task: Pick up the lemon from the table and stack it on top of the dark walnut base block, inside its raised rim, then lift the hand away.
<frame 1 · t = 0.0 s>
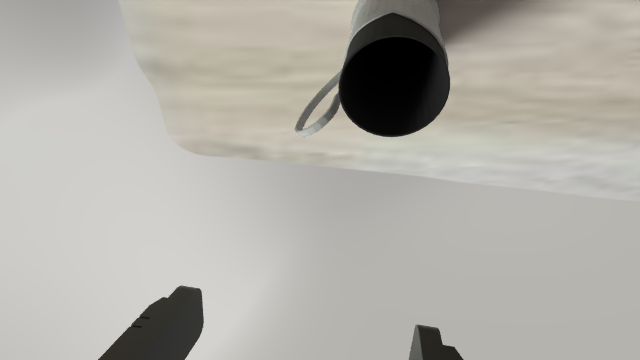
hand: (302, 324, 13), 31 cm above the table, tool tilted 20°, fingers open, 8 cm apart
glass holder: (371, 40, 36), on the table
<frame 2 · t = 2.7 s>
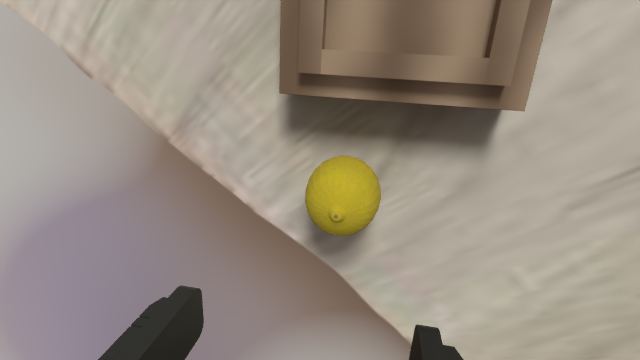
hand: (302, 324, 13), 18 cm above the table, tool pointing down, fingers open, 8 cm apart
lemon: (348, 176, 29), on the table
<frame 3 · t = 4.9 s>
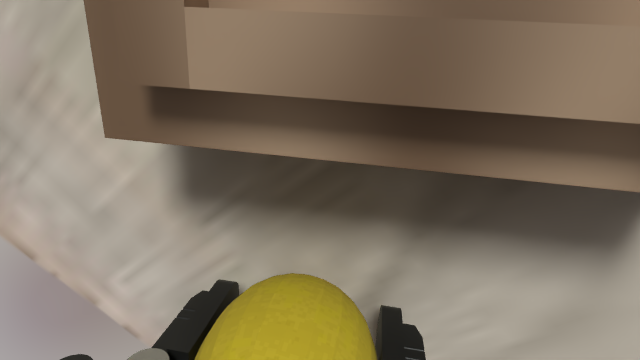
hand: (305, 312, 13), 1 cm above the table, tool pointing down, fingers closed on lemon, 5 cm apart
lemon: (312, 291, 14), on the table, touching gripper
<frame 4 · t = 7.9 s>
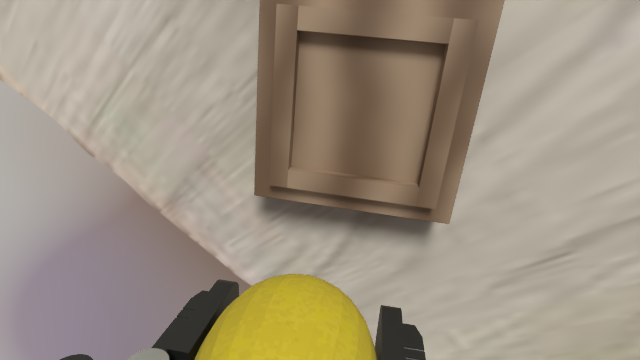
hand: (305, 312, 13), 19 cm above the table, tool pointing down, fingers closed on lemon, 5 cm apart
lemon: (312, 291, 14), point 18 cm above the table, touching gripper
walnut base: (363, 104, 29), on the table
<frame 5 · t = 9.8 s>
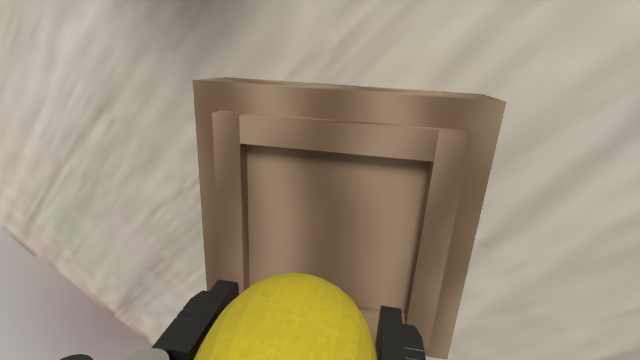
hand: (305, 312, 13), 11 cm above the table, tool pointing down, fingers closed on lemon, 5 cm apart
lemon: (312, 290, 14), point 10 cm above the table, touching gripper
walnut base: (337, 204, 24), on the table
when the fingers open (7 cm above the table, at t = 11.2 s): lemon drops 2 cm, resting on walnut base.
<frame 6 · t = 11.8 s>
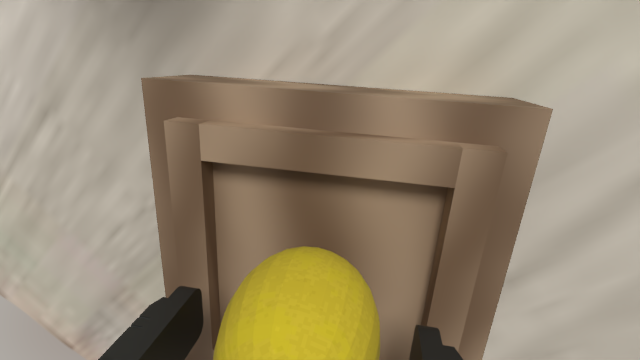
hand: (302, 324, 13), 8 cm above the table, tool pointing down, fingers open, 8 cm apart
lemon: (319, 267, 16), point 4 cm above the table, touching walnut base
walnut base: (330, 229, 20), on the table
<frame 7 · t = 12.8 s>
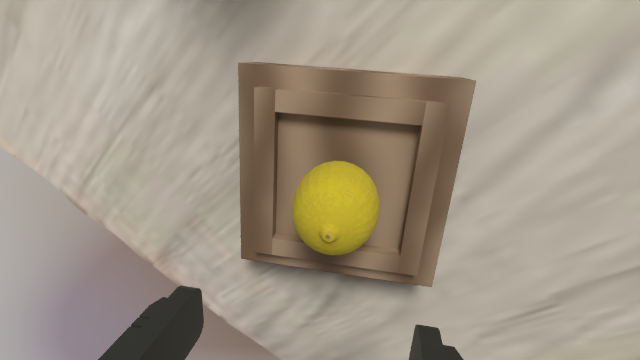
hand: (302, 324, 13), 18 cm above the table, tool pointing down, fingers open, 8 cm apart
lemon: (342, 182, 26), point 4 cm above the table, touching walnut base
walnut base: (346, 166, 29), on the table
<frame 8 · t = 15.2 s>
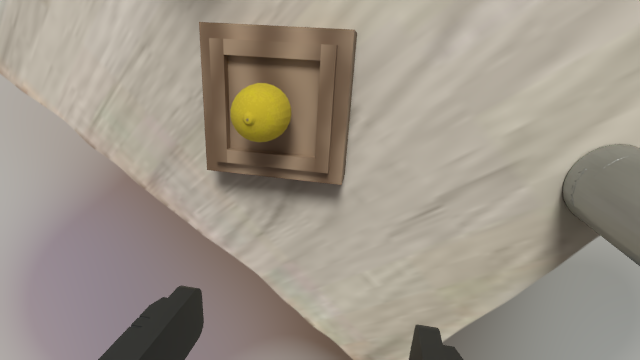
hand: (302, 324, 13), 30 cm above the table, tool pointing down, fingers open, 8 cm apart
lemon: (273, 106, 37), point 4 cm above the table, touching walnut base
walnut base: (283, 102, 40), on the table
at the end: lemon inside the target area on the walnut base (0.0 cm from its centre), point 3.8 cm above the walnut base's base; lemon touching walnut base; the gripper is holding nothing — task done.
